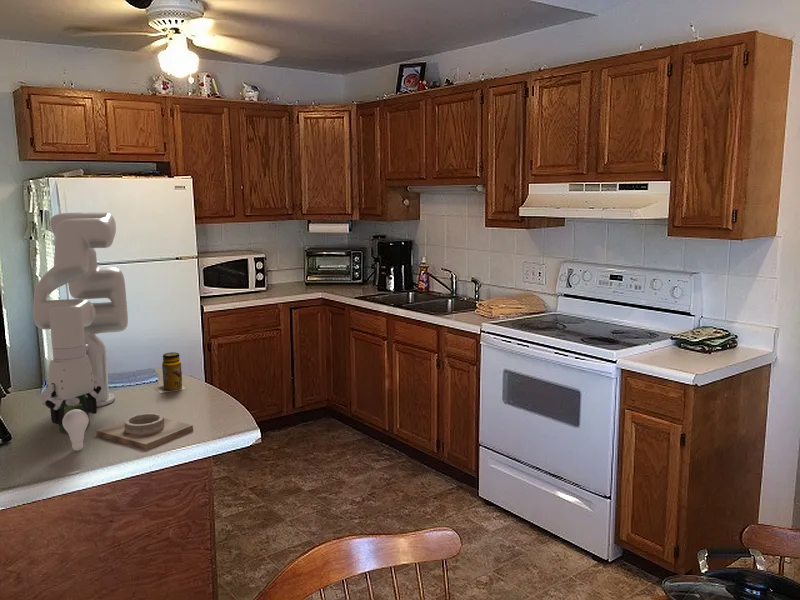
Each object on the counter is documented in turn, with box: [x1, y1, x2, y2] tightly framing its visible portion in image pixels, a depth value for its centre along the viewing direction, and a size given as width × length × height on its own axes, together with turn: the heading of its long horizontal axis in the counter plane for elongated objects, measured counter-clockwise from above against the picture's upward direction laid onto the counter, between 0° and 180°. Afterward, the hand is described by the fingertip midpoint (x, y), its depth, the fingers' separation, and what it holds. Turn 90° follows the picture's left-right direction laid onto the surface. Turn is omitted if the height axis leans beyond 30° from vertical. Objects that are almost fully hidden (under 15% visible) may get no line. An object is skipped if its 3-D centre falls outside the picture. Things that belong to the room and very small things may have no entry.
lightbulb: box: [62, 409, 90, 452], centre depth 173 cm, size 6×6×11 cm
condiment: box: [154, 351, 187, 394], centre depth 225 cm, size 7×8×12 cm
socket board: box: [95, 412, 194, 450], centre depth 186 cm, size 20×16×4 cm
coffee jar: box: [58, 394, 90, 433], centre depth 189 cm, size 10×8×19 cm
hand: (75, 418), depth 172 cm, fingers open, 9 cm apart
